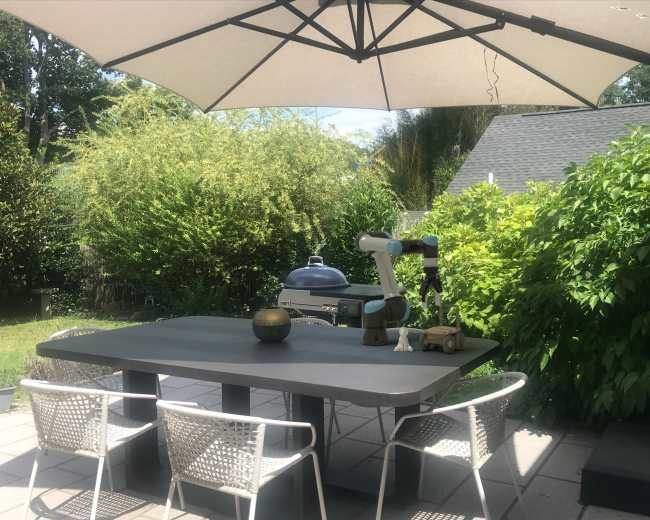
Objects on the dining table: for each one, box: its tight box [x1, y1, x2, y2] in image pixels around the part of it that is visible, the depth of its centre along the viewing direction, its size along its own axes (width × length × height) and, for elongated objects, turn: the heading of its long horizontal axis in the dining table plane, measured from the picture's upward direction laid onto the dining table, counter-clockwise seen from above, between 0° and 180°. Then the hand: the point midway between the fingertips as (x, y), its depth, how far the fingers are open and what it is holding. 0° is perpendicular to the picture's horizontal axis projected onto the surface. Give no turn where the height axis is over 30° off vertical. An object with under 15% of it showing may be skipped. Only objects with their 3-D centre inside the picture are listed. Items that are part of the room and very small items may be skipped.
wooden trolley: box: [418, 303, 466, 354], centre depth 325 cm, size 19×16×23 cm
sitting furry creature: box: [393, 326, 414, 353], centre depth 328 cm, size 10×9×12 cm
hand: (431, 307), depth 327 cm, fingers open, 13 cm apart
